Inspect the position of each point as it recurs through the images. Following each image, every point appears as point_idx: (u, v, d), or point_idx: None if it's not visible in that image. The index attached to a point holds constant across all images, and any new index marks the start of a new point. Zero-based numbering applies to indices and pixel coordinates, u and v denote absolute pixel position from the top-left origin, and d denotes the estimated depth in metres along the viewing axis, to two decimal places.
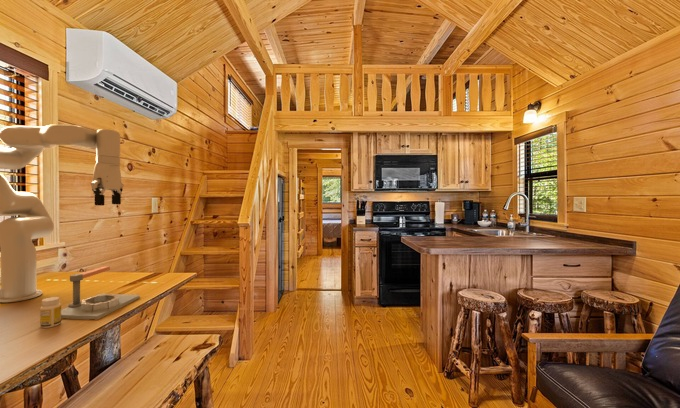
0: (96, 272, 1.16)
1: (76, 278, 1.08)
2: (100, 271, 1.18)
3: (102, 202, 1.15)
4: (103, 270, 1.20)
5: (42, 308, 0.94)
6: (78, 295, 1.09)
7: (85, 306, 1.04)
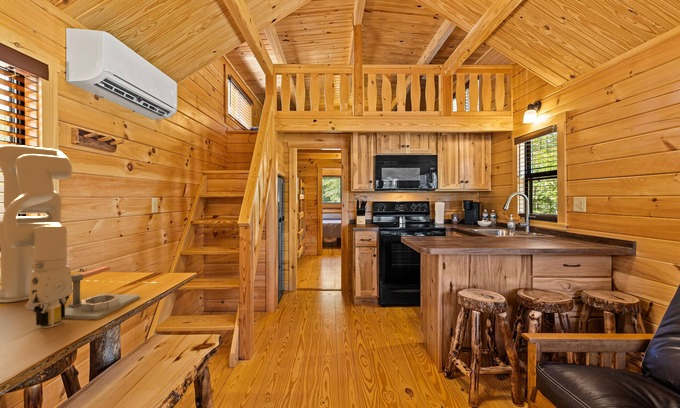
0: (96, 272, 1.16)
1: (76, 278, 1.08)
2: (100, 271, 1.18)
3: None
4: (103, 270, 1.20)
5: None
6: (78, 295, 1.09)
7: (85, 306, 1.04)
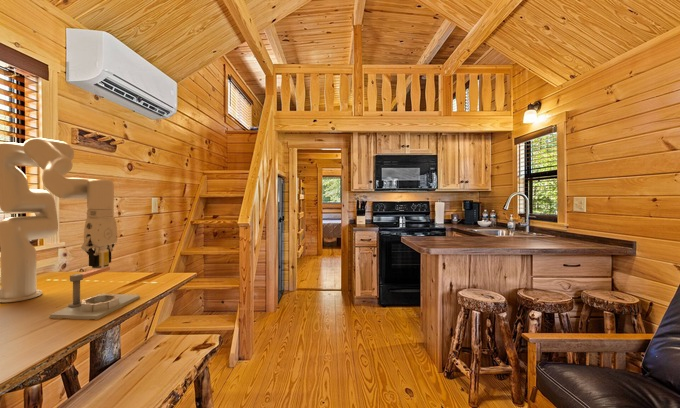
0: (96, 272, 1.16)
1: (76, 278, 1.08)
2: (100, 271, 1.18)
3: None
4: (103, 270, 1.20)
5: None
6: (78, 295, 1.09)
7: (85, 306, 1.04)
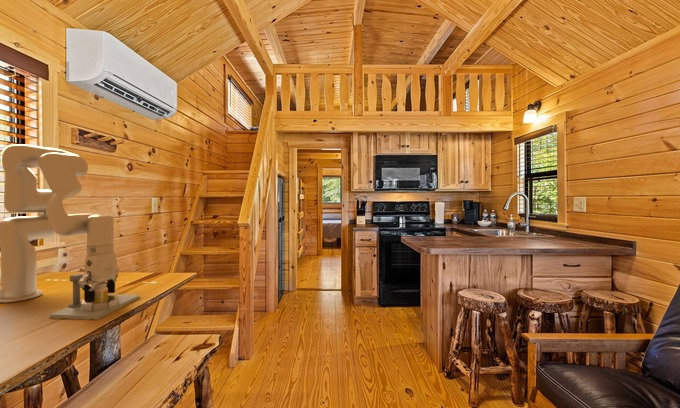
0: None
1: (76, 278, 1.08)
2: None
3: None
4: None
5: None
6: (78, 295, 1.09)
7: (85, 306, 1.04)
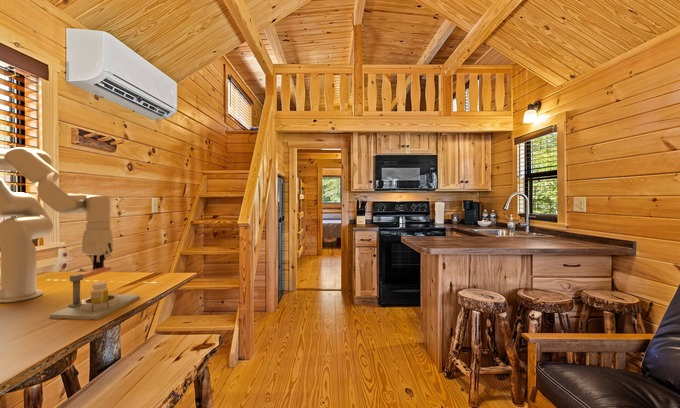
0: (97, 272, 1.16)
1: (76, 278, 1.08)
2: (101, 271, 1.18)
3: None
4: (104, 270, 1.20)
5: (93, 291, 1.07)
6: (78, 295, 1.09)
7: (85, 306, 1.04)
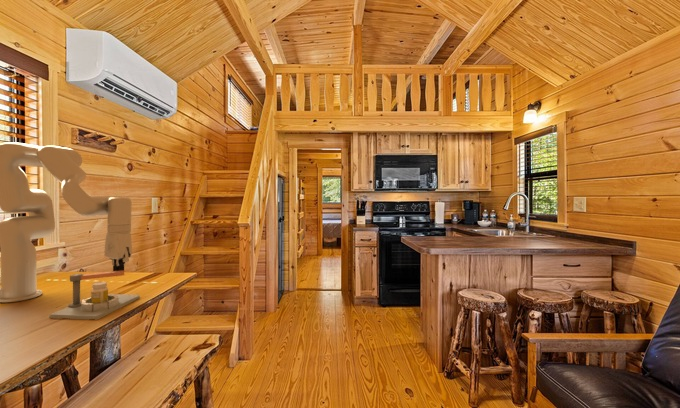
0: (102, 275, 1.12)
1: (71, 278, 1.07)
2: (108, 275, 1.13)
3: None
4: (113, 274, 1.14)
5: (93, 291, 1.07)
6: (78, 295, 1.09)
7: (85, 306, 1.04)
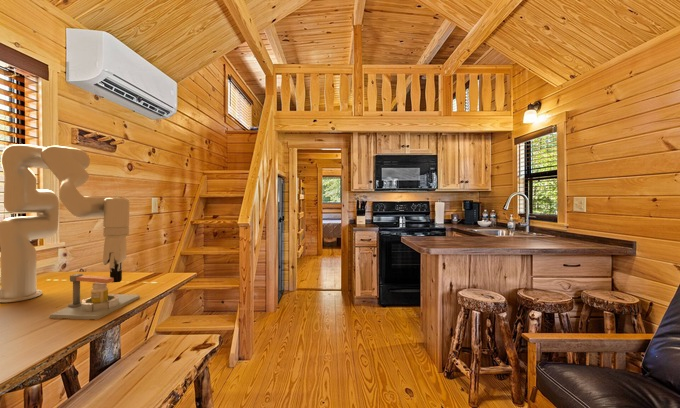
0: (91, 280, 1.07)
1: None
2: (95, 280, 1.06)
3: (119, 279, 1.10)
4: (99, 281, 1.06)
5: (93, 291, 1.07)
6: (78, 295, 1.09)
7: (85, 306, 1.04)
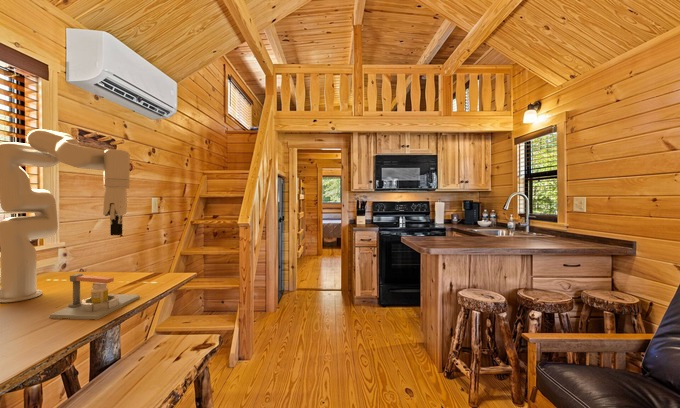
0: (91, 280, 1.07)
1: None
2: (95, 280, 1.06)
3: (119, 232, 1.09)
4: (99, 281, 1.06)
5: (93, 291, 1.07)
6: (78, 295, 1.09)
7: (85, 306, 1.04)
